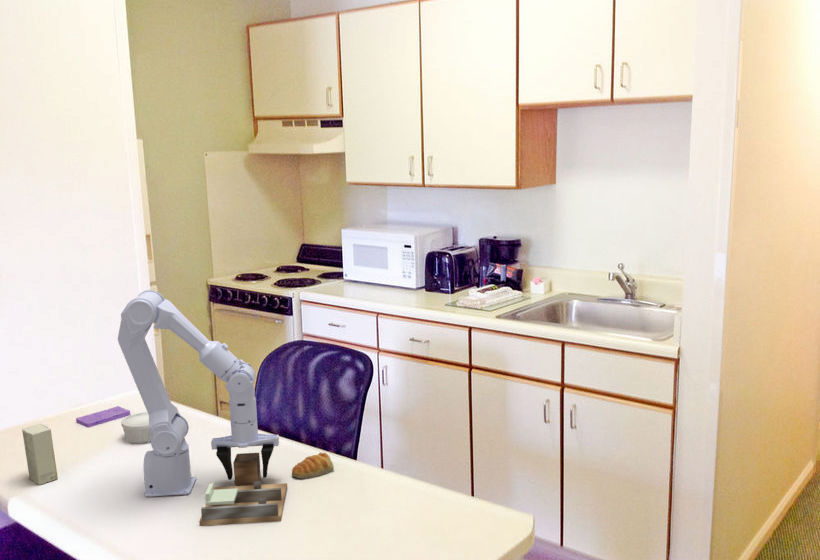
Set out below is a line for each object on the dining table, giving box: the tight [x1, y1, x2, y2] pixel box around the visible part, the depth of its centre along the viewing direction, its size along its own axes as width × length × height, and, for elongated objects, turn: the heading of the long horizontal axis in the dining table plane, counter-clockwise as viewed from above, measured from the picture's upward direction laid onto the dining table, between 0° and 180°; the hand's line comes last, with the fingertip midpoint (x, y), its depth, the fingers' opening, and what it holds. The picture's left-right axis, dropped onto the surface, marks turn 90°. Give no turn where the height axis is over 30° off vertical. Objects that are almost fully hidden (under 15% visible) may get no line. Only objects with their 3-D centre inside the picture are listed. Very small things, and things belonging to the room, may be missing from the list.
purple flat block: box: [75, 405, 131, 428], centre depth 211 cm, size 7×13×2 cm, turn 138°
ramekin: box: [120, 411, 151, 445], centre depth 196 cm, size 11×11×5 cm
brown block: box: [232, 452, 262, 486], centre depth 167 cm, size 5×5×6 cm
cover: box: [204, 482, 238, 506], centre depth 152 cm, size 6×6×2 cm
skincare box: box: [21, 423, 59, 486], centre depth 171 cm, size 6×4×12 cm
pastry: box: [291, 452, 334, 480], centre depth 172 cm, size 9×7×4 cm
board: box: [198, 480, 288, 527], centre depth 156 cm, size 16×15×3 cm
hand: (247, 477), depth 167 cm, fingers open, 7 cm apart
